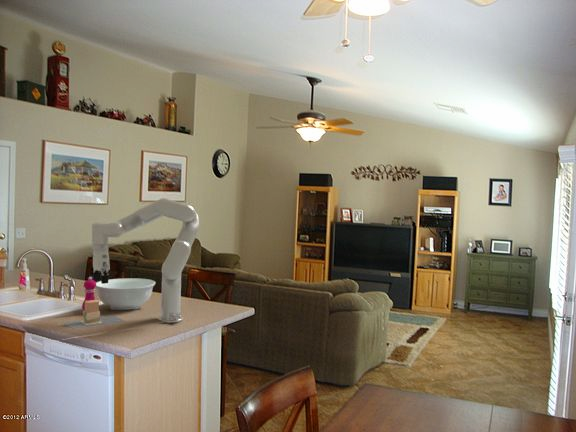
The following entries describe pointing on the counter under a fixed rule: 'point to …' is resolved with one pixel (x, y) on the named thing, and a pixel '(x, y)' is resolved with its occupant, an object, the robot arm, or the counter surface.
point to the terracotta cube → (92, 306)
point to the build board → (102, 321)
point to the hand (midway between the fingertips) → (100, 282)
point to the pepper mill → (89, 291)
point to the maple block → (91, 317)
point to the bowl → (125, 292)
